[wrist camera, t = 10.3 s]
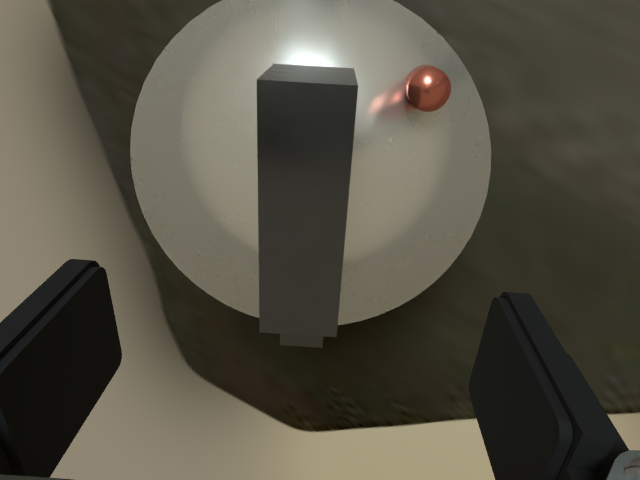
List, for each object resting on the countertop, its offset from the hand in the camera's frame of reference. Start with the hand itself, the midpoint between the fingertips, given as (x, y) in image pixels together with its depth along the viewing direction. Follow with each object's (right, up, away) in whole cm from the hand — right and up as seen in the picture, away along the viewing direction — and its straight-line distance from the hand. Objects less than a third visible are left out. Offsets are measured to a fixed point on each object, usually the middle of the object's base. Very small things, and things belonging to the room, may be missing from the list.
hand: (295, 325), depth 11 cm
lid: (0, +5, +10) cm, 12 cm away
